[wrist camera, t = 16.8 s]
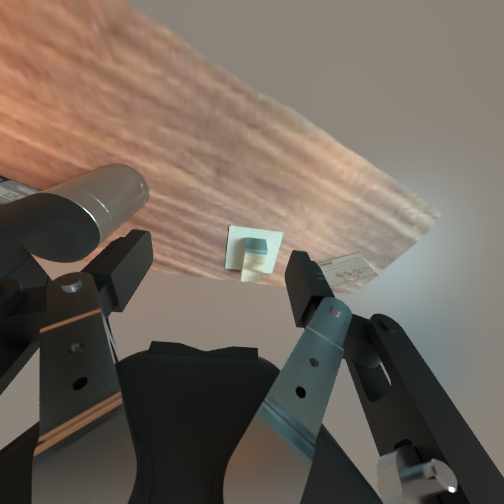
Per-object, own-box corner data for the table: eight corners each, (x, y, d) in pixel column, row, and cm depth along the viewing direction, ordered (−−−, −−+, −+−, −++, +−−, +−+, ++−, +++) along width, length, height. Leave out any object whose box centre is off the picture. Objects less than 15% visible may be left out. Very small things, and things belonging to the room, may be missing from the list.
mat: (225, 267, 54) (224, 268, 54) (229, 224, 47) (229, 225, 47) (271, 272, 56) (271, 273, 55) (283, 231, 48) (283, 232, 48)
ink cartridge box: (359, 258, 54) (379, 283, 46) (318, 269, 56) (330, 295, 48) (359, 251, 52) (379, 276, 44) (317, 262, 54) (329, 288, 46)
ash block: (259, 270, 55) (265, 239, 49) (260, 283, 51) (267, 250, 45) (240, 268, 54) (245, 237, 49) (240, 281, 50) (245, 248, 44)
